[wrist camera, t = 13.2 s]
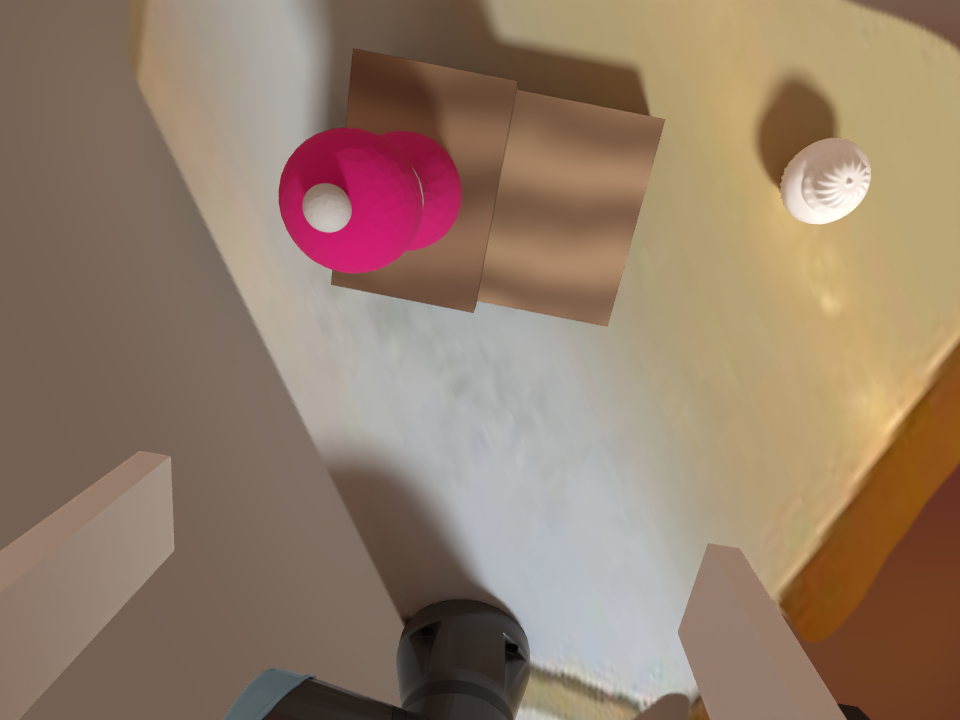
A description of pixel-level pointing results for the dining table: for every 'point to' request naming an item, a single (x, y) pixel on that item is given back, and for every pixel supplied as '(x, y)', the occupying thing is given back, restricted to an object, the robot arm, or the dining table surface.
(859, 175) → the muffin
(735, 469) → the dining table surface
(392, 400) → the dining table surface
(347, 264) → the pepper mill
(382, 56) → the step stand
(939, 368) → the dining table surface
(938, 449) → the dining table surface
